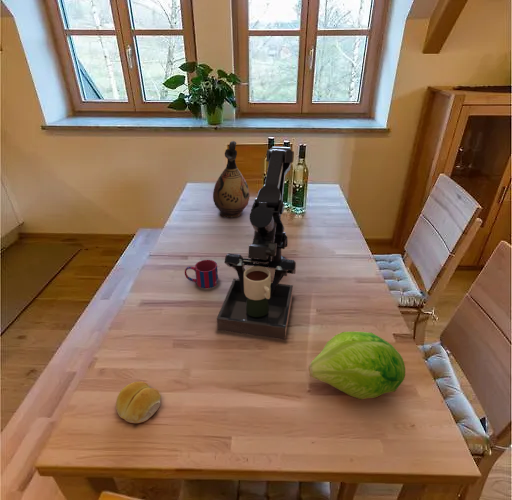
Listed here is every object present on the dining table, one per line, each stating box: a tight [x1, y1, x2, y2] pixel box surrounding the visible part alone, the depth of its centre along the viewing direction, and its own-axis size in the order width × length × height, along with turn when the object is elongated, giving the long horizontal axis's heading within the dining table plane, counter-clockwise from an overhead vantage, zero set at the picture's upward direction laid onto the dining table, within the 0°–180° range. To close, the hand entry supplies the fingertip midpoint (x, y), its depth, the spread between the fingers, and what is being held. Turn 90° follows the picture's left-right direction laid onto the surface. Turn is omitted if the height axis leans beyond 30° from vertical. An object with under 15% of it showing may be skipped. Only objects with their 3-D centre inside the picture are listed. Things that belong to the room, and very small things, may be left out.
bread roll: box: [115, 380, 162, 424], centre depth 73 cm, size 8×9×4 cm
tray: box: [216, 278, 294, 340], centre depth 97 cm, size 18×18×5 cm
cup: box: [184, 259, 219, 289], centre depth 109 cm, size 7×10×7 cm
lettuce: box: [308, 331, 406, 401], centre depth 75 cm, size 15×20×14 cm
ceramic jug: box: [212, 140, 251, 219], centre depth 146 cm, size 17×15×30 cm
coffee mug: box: [244, 266, 272, 317], centre depth 94 cm, size 11×7×13 cm, turn 34°
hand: (256, 295), depth 93 cm, fingers closed on coffee mug, 7 cm apart
